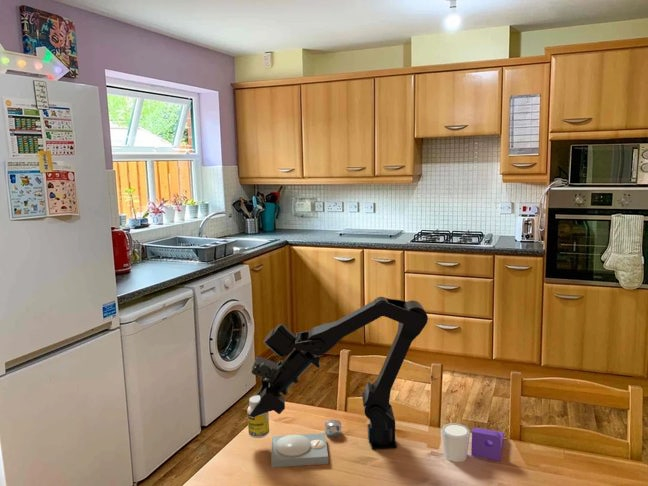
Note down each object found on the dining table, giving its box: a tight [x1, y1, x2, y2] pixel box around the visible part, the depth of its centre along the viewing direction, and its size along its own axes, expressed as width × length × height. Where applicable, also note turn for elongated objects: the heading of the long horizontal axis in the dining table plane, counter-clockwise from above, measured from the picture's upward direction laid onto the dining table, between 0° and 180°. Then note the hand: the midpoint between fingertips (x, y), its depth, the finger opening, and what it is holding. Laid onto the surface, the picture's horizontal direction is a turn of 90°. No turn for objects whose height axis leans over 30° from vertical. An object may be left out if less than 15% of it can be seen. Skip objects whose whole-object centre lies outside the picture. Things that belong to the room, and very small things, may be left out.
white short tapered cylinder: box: [441, 422, 471, 463], centre depth 133 cm, size 7×7×7 cm
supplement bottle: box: [246, 394, 270, 439], centre depth 138 cm, size 5×5×10 cm
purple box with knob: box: [471, 427, 505, 462], centre depth 137 cm, size 12×7×7 cm, turn 158°
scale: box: [270, 432, 329, 469], centre depth 136 cm, size 14×11×3 cm
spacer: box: [324, 418, 342, 439], centre depth 145 cm, size 4×4×3 cm
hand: (252, 410), depth 137 cm, fingers closed on supplement bottle, 5 cm apart
